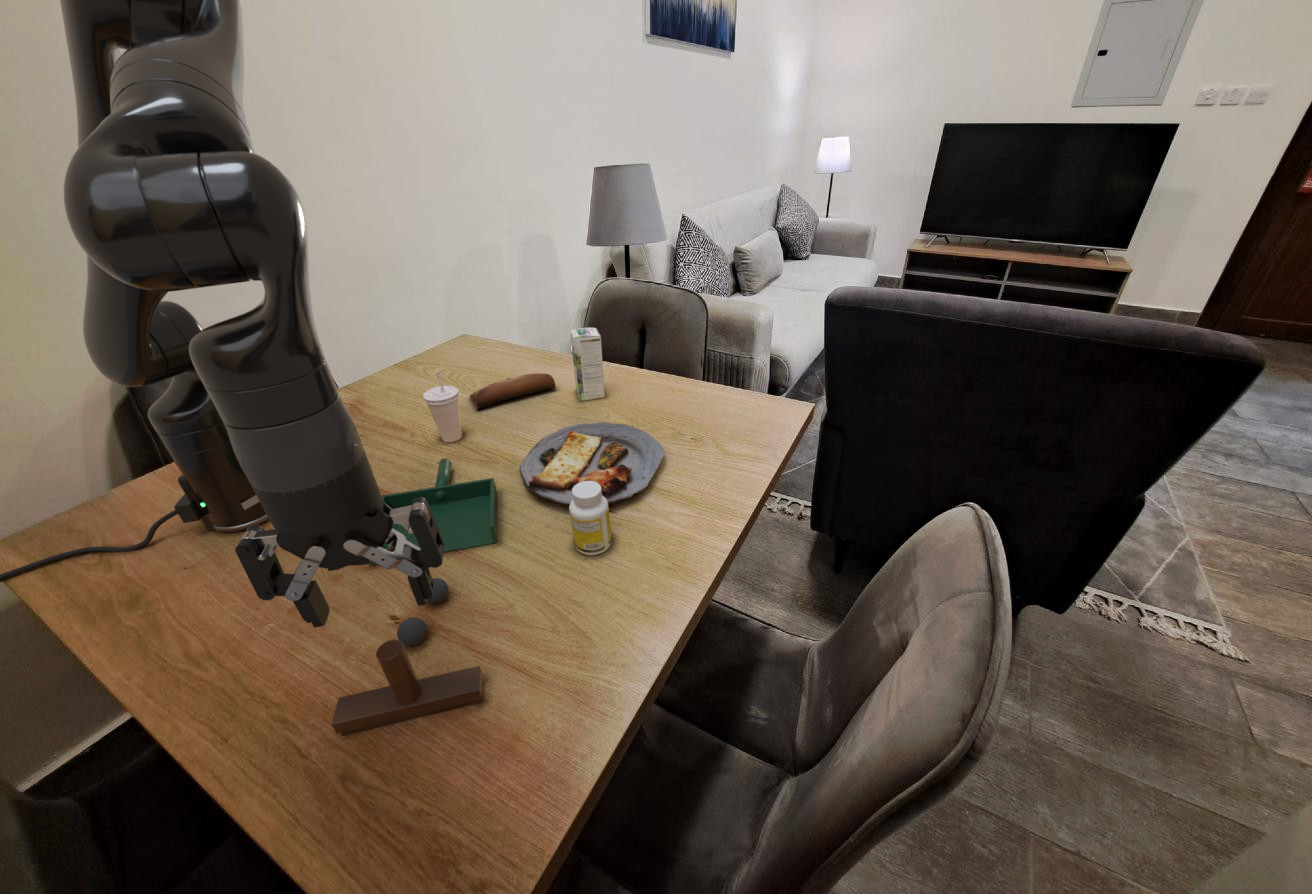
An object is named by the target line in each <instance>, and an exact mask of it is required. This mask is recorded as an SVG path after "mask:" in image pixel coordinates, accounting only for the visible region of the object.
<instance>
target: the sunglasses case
mask: <svg viewBox="0 0 1312 894" xmlns="http://www.w3.org/2000/svg"><path fill="white" fill-rule="evenodd" d="M548 389H554V390H556V381H555V379H554V378H553V376H552V375H551V374H549V373H539V372H538V373H537V372H536V373H535V372H534V373H527V374H522V375H518V376H514V377H508V378H506V379H502V380H498V381H495V382H492V383H490V384H487V385H486V386H485V387H483V388H480V389H478V390H476V391H474V392H472V393H471V394H470V395H469V400H470V402H471V403H472V405H473V407H474V408H475V410H476V411H477V410H479V409H482V408H485V407H488V406H492V405H494V404H497V403H499V402H503V401H506V400H508V399H513V398H517V397H522V396H524V395H529V394H534V393H536V392H541V391H545V390H548Z"/></svg>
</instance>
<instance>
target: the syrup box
mask: <svg viewBox="0 0 1312 894" xmlns="http://www.w3.org/2000/svg"><path fill="white" fill-rule="evenodd" d="M570 339H571V350H572V352H571V353H572V364H573V375H574V382H575V383H574V384H575V391H576V394H577V395H576V396H577V398H578V400H579V402H585V401H590V400H596V399H602V398H605V397H606V394H605V393H606V392H605V378H604V377H605V376H604V364H603V348H602V336H601V334H600V333H599V330H598V329H597V328H596V327H581V328H574V329H571V330H570Z"/></svg>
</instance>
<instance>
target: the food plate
mask: <svg viewBox="0 0 1312 894" xmlns="http://www.w3.org/2000/svg"><path fill="white" fill-rule="evenodd" d="M665 457H666V451H665V448H664V446H662V444H661V443H660V442H659V441H658V440H656V438H654V437H653V436H652V435H650V434H649V433H647V431H645V430H642V429H639V428H636V427H634V426H633V425H632V426H631V425H630V426H629V425H627V424H621V423H614V422H613V423H612V422H611V423H610V422H606V421H600V422H584V423H579V424H573V425H569V426H566V427H562V428H561V429H560V428H559V429H557V430H556V431H554V432H551V433H549V434H547V435H545V436H543V437H542V438H541V439H540V440H539V441H538V442H536V444H535V445H534V446H533V448H531V450H530V451H529V452H528V453H527V454H526V456H525V457H523V459H522V461H521V463H520V465H519V475H520V477H521V478H522V480H523V483H524V486H525V488H526V489H527V490H529V491H531V492H532V493H533V494H534V495H535V496H537V497H540V498H543V499H545V500H549V501H551V502H555V503H558V504H561V505H564V506H567V507H569V506H570V503H571V501H572V500H573V497H572V489H573V487H574V486H575V485H576V484H578V483H580V482H583V481H594V482H597V483H598V484H599V485H600V486H601V490H602V496H604V497H605V498H606V500H607V502H608V505H612V504H614V503H619V502H621V501H623V502H625V500H626V499H627V500H628V499H630V498H632V497H633V495H634V494H640V493H641V492H643V491H644V490H645V489H646V488H647V486H649V484H650V482H651V481H652V478H653V477H654V476H655V474H656V473H657V470H658V468H659V467H660V466H661V463H662V460H663V459H664V458H665Z"/></svg>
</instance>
